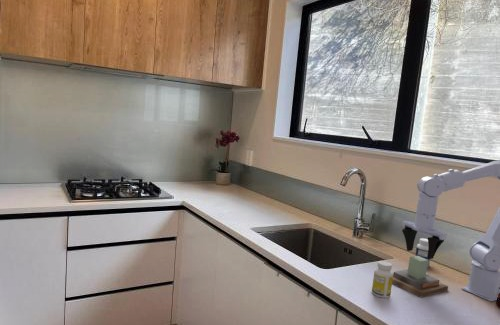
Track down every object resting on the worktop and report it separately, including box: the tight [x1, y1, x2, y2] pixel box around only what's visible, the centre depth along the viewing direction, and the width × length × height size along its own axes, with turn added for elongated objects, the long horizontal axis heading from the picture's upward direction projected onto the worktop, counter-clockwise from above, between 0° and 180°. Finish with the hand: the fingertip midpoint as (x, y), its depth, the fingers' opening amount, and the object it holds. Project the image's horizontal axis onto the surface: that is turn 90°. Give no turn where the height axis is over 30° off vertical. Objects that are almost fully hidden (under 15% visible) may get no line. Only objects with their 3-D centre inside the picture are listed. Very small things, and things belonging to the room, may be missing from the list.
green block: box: [407, 255, 428, 279], centre depth 125 cm, size 4×4×6 cm
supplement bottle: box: [371, 260, 394, 299], centre depth 115 cm, size 5×5×10 cm
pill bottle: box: [414, 237, 431, 268], centre depth 147 cm, size 5×5×10 cm
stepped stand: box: [392, 268, 449, 298], centre depth 126 cm, size 14×14×3 cm
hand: (419, 254), depth 125 cm, fingers open, 7 cm apart
